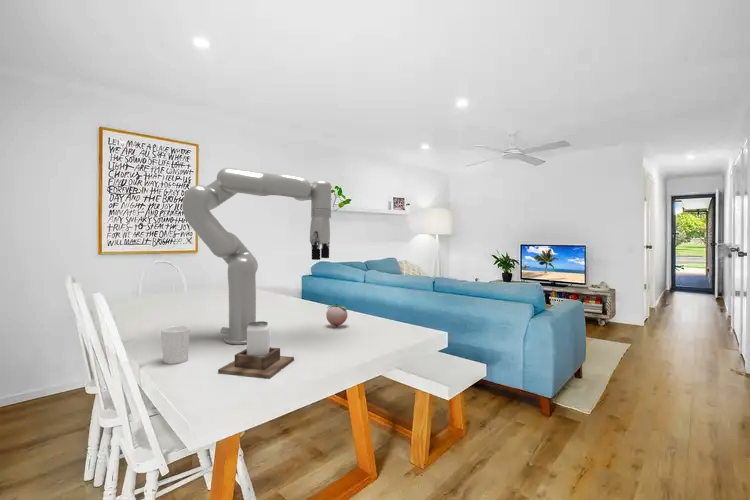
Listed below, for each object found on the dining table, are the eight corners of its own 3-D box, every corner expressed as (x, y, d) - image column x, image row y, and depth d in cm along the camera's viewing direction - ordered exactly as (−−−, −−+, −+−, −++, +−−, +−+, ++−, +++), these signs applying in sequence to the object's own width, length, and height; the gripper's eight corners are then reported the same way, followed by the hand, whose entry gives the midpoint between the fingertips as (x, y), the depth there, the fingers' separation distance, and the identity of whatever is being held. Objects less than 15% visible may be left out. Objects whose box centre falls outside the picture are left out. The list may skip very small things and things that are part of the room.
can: (262, 367, 113) (262, 326, 113) (242, 365, 115) (242, 325, 114) (272, 360, 120) (273, 321, 119) (253, 358, 121) (253, 320, 120)
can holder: (218, 373, 111) (218, 357, 111) (248, 355, 127) (248, 342, 126) (269, 378, 107) (269, 362, 107) (294, 360, 123) (294, 346, 123)
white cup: (170, 366, 116) (170, 333, 115) (156, 361, 120) (155, 329, 119) (195, 359, 122) (195, 328, 122) (180, 355, 127) (180, 324, 126)
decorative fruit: (323, 328, 164) (323, 304, 163) (328, 324, 172) (328, 301, 171) (344, 329, 162) (345, 306, 162) (349, 325, 170) (349, 302, 170)
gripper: (319, 215, 158) (319, 257, 159) (302, 212, 141) (302, 260, 142) (337, 215, 156) (337, 257, 157) (322, 213, 139) (321, 260, 140)
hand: (320, 258), depth 149 cm, fingers open, 9 cm apart
